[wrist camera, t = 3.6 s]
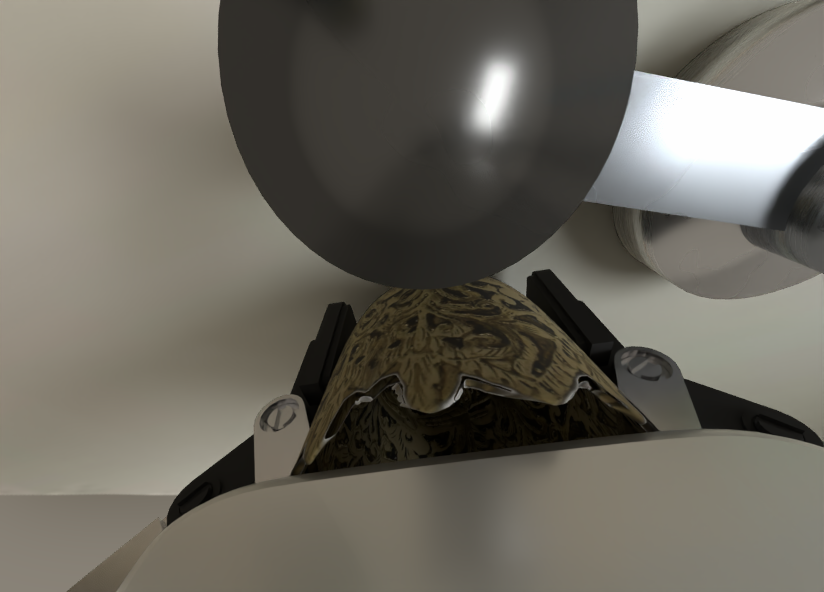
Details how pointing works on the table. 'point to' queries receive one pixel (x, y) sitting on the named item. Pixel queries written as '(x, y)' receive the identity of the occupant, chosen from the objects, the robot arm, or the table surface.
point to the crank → (495, 133)
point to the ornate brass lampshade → (459, 381)
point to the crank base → (719, 241)
